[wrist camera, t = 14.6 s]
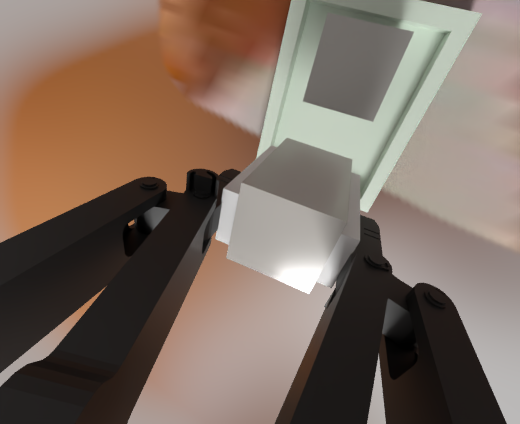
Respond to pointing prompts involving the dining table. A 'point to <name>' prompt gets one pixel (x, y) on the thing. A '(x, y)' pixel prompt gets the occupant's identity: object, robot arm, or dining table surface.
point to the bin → (398, 94)
